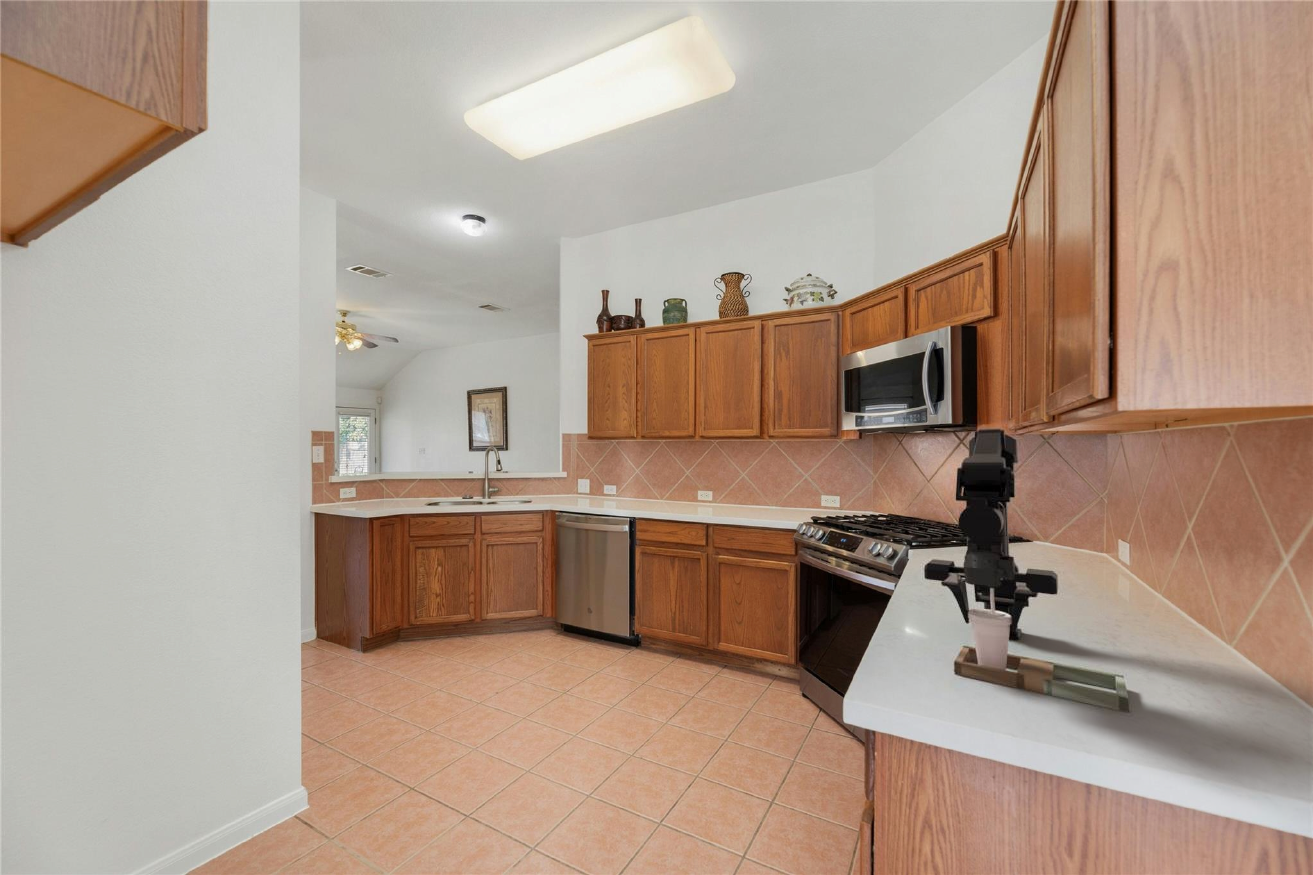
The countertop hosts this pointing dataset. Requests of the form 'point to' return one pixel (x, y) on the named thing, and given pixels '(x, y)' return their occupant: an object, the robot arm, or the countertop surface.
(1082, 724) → the countertop surface
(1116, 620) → the countertop surface
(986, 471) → the robot arm
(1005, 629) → the smoothie
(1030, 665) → the caddy
